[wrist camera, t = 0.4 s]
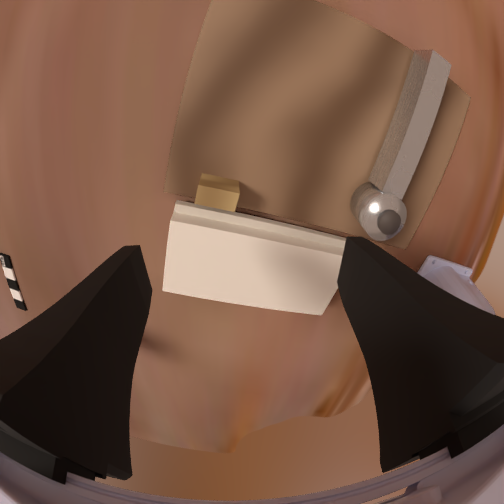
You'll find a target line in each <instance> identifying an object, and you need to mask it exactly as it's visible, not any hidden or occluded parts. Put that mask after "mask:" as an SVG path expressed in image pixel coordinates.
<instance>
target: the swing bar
mask: <svg viewBox="0 0 504 504" xmlns="http://www.w3.org/2000/svg"><path fill="white" fill-rule="evenodd" d="M450 68H451V64H450V63H449V62H448V61H446V60H445V59H444V58H443V57H441V56H440V55H439V54H438V53H436V52H435V51H434V50H414V54H413V57H412V61H411V64H410V67H409V71H408V74H407V77H406V80H405V83H404V86H403V90H402V93H401V96H400V98H399V101H398V104H397V107H396V110H395V113H394V116H393V118H392V121H391V124H390V127H389V129H388V132H387V135H386V137H385V140H384V142H383V145H382V147H381V150H380V152H379V155H378V157H377V160H376V162H375V165H374V167H373V170H372V172H371V174H370V177H369V179H368V180H369V181H370V182H366V183H364V184H362V185H360V186H359V187H358V188H357V189H356V190H355V191H354V193H353V195H352V197H351V200H350V210H351V212H352V214H353V216H354V217H355V218H356V220H357V221H358V222H359V223H360V225H361V226H362V227H363V229H364V230H365V231H366V232H367V234H368V235H369V236H370V237H371V238H372V239H374V240H377V241H385V240H388V239H391V238H392V237H394V236H395V235H397V234H398V233H399V232H400V231H401V229H402V228H403V226H404V224H405V221H406V217H407V211H406V207H405V205H404V203H403V202H402V201H401V200H402V198H403V196H404V194H405V192H406V190H407V187H408V185H409V183H410V181H411V179H412V176H413V174H414V172H415V169H416V167H417V165H418V162H419V160H420V157H421V155H422V152H423V150H424V147H425V145H426V142H427V140H428V137H429V134H430V132H431V129H432V126H433V123H434V121H435V118H436V115H437V112H438V109H439V106H440V103H441V100H442V96H443V93H444V90H445V86H446V83H447V79H448V76H449V72H450ZM400 199H401V200H400ZM386 210H394V211H395V212H397V213H398V214H399V216H400V217H401V224H400V227H399V228H398V230H397V231H396V232H395V233H393V234H390V235H385V234H383V233H382V232H381V231H380V229H379V228H378V226H377V221H378V218H379V216H380V215H381V214H382V213H383V212H384V211H386Z"/></svg>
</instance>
